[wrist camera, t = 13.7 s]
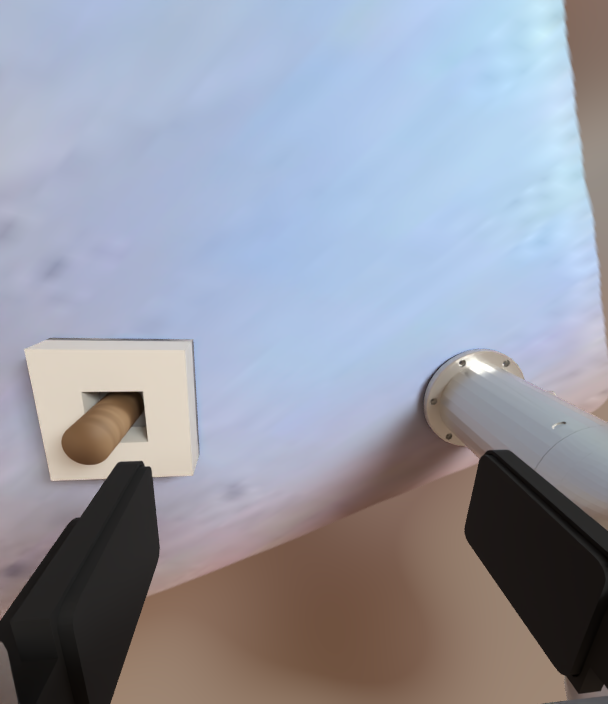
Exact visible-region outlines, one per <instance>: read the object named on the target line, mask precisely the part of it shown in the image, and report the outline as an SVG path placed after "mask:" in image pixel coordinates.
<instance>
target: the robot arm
mask: <svg viewBox="0 0 608 704" xmlns="http://www.w3.org/2000/svg"><path fill="white" fill-rule="evenodd" d="M424 414H425V418H426V420H427V423H428V425H429V426H430V428H431V429H432V430H433V432H434V433H435V434H436V435H437V436H438V437H439V438H441V439H442V440H444V441H445V442H448V443H450V444H453V445H458V446H467V447H468V448H469V449H470V450H471V451H472V452H473V453H474V454H475V455H476V456H477V457H478V458H479V459H480V460H479V464H478V469H477V474H476V478H475V483H474V487H473V492H472V496H471V501H470V506H469V510H468V514H467V519H466V524H465V536H466V539H467V541H468V543H469V544H470V545H471V547H472V549H473V550H474V551H475V553H476V554H477V556H478V557H479V559H480V560H481V561H482V563H483V564H484V566H485V567H486V569H487V570H488V572H489V573H490V574H491V576H492V577H493V579H494V580H495V582H496V583H497V584H498V586H499V587H500V589H501V590H502V592H503V593H504V595H505V596H506V598H507V599H508V600H509V602H510V603H511V605H512V606H513V608H514V609H515V610H516V612H517V613H518V615H519V616H520V618H521V619H522V620H523V622H524V623H525V625H526V626H527V627H528V629H529V631H530V632H531V634H532V635H533V636H534V638H535V639H536V640H537V642H538V644H539V645H540V646H541V648H542V649H543V651H544V652H545V654H546V655H547V656H548V658H549V659H550V661H551V662H552V664H553V665H554V667H555V668H556V669H557V670H558V671H559V672H560V673H561V674H563V675H565V679H564V683H565V691H566V696H567V700H568V701H560V702H552V703H545V704H608V422H606V421H604V420H602V419H600V418H598V417H596V416H594V415H592V414H590V413H588V412H586V411H585V410H583V409H581V408H579V407H577V406H575V405H573V404H571V403H569V402H567V401H565V400H563V399H561V398H559V397H557V396H556V395H555V393H554V392H553V391H545V390H543V389H541V388H539V387H537V386H535V385H533V384H532V383H530V382H528V381H526V380H525V379H524V376H523V373H522V371H521V369H520V368H519V366H518V365H517V364H516V363H515V362H514V361H513V360H512V359H511V358H509V357H508V356H506V355H505V354H502V353H500V352H497V351H494V350H489V349H475V350H469V351H466V352H463V353H461V354H458V355H456V356H455V357H453V358H451V359H449V360H448V361H447V362H446V363H445V364H443V365H442V366H441V367H440V368H439V369H438V371H437V372H436V373H435V374H434V376H433V377H432V379H431V380H430V382H429V384H428V387H427V389H426V392H425V396H424ZM159 549H160V547H159V536H158V527H157V517H156V507H155V498H154V488H153V478H152V470H151V467H150V466H145V465H144V463H143V461H121V462H118V463H117V464H116V465H115V467H114V468H113V470H112V471H111V473H110V474H109V476H108V477H107V479H106V480H105V482H104V483H103V485H102V486H101V488H100V489H99V491H98V492H97V494H96V495H95V496H94V498H93V499H92V501H91V502H90V504H89V505H88V507H87V508H86V510H85V511H84V513H83V514H82V516H81V517H80V518H75V519H73V520H72V521H71V522H70V523H69V524H68V525H67V527H66V528H65V529H64V531H63V532H62V534H61V535H60V537H59V538H58V539H57V541H56V542H55V544H54V545H53V546H52V548H51V549H50V551H49V552H48V554H47V555H46V556H45V558H44V559H43V561H42V562H41V564H40V565H39V566H38V568H37V569H36V571H35V572H34V574H33V575H32V576H31V578H30V579H29V581H28V582H27V583H26V585H25V586H24V588H23V589H22V591H21V592H20V593H19V595H18V596H17V598H16V599H15V601H14V602H13V603H12V605H11V606H10V608H9V609H8V611H7V612H6V613H5V615H4V616H3V618H2V619H1V621H0V704H110V703H111V700H112V697H113V694H114V691H115V688H116V685H117V682H118V679H119V676H120V673H121V670H122V667H123V664H124V661H125V658H126V655H127V652H128V649H129V646H130V643H131V640H132V637H133V634H134V631H135V628H136V625H137V622H138V619H139V616H140V613H141V610H142V607H143V604H144V601H145V598H146V595H147V592H148V589H149V586H150V583H151V580H152V577H153V574H154V571H155V568H156V565H157V562H158V558H159Z"/></svg>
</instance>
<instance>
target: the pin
mask: <svg viewBox="0 0 608 704" xmlns="http://www.w3.org/2000/svg"><path fill="white" fill-rule="evenodd" d="M143 411H144V400H143V398H142V396H141V395H140V393H139V392H137V391H130V392H109V393H107V394H106V395H105V396H104V397H103V398H102V399H101V400H100V401H98V402H97V403H96V404H95V405H94V406H93V407H92V408H91V409H90V410H88V411H87V412H86V413H85V414H84V415H83V416H82V417H81V418H79V419H78V420H77V421H76V422H75V423H74V424H73V425H72V426H70V427H69V428H68V429H67V430H66V431H65V432H64V434H63V436H62V440H61V444H62V448H63V450H64V452H65V454H66V455H67V456H68V457H69V458H70V459H72V460H73V461H75V462H77V463H80V464H84V465H95V464H99V463H101V462H103V461H104V460H106V459H107V458H108V456H109V455H110V454H111V453H112V451H113V450H114V449H115V447H116V446H117V445H118V444H119V442H120V441H121V440H122V438H123V437H124V436H125V435H126V433H127V432H128V431H129V429H130V428H131V427H132V426H133V424H134V423H135V422H136V420H137V419H138V418H139V417H140V415H141V414H142V413H143Z"/></svg>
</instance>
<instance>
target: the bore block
mask: <svg viewBox="0 0 608 704" xmlns="http://www.w3.org/2000/svg"><path fill="white" fill-rule="evenodd" d="M24 350H25V355H26V360H27V365H28V370H29V375H30V380H31V385H32V389H33V394H34V399H35V404H36V409H37V414H38V419H39V424H40V428H41V433H42V438H43V443H44V448H45V453H46V458H47V462H48V467H49V472H50V477H51V481H60V480H87V479H107V477H108V476H109V474H110V473H111V471H112V470H113V468H114V467H115V465H116V464H117V463H118V462H121V461H143V463H144V465H145V466H150V467H151V470H152V477H169V476H193V474H194V470H195V467H196V464H197V461H198V457H199V436H198V418H197V400H196V381H195V363H194V345H193V339H99V338H49V339H47V340H45V341H42V342H40V343H38V344H35V345H33V346H31V347H28V348H26V349H24ZM130 391H137V392H139V393H140V395H141V396H142V398H143V400H144V411H143V413H142V414H141V415H140V417H139V418H138V419H137V420H136V422H135V423H134V424H133V426H132V427H131V428H130V429H129V431H128V432H127V433H126V435H125V436H124V437H123V438H122V440H121V441H120V442H119V444H118V445H117V446H116V447H115V449H114V450H113V451H112V453H111V454H110V455H109V456H108V458H107V459H106V460H104V461H103V462H101V463H99V464H95V465H84V464H80V463H77V462H75V461H73V460H72V459H70V458H69V457H68V456H67V455H66V454H65V452H64V450H63V448H62V444H61V440H62V436H63V434H64V432H65V431H66V430H67V429H68V428H69V427H70V426H72V425H73V424H74V423H75V422H76V421H77V420H78V419H79V418H81V417H82V416H83V415H84V414H85V413H86V412H87V411H88V410H90V409H91V408H92V407H93V406H94V405H95V404H96V403H97V402H98V401H100V400H101V399H102V398H103V397H104V396H105V395H106V394H107V393H109V392H130Z"/></svg>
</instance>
